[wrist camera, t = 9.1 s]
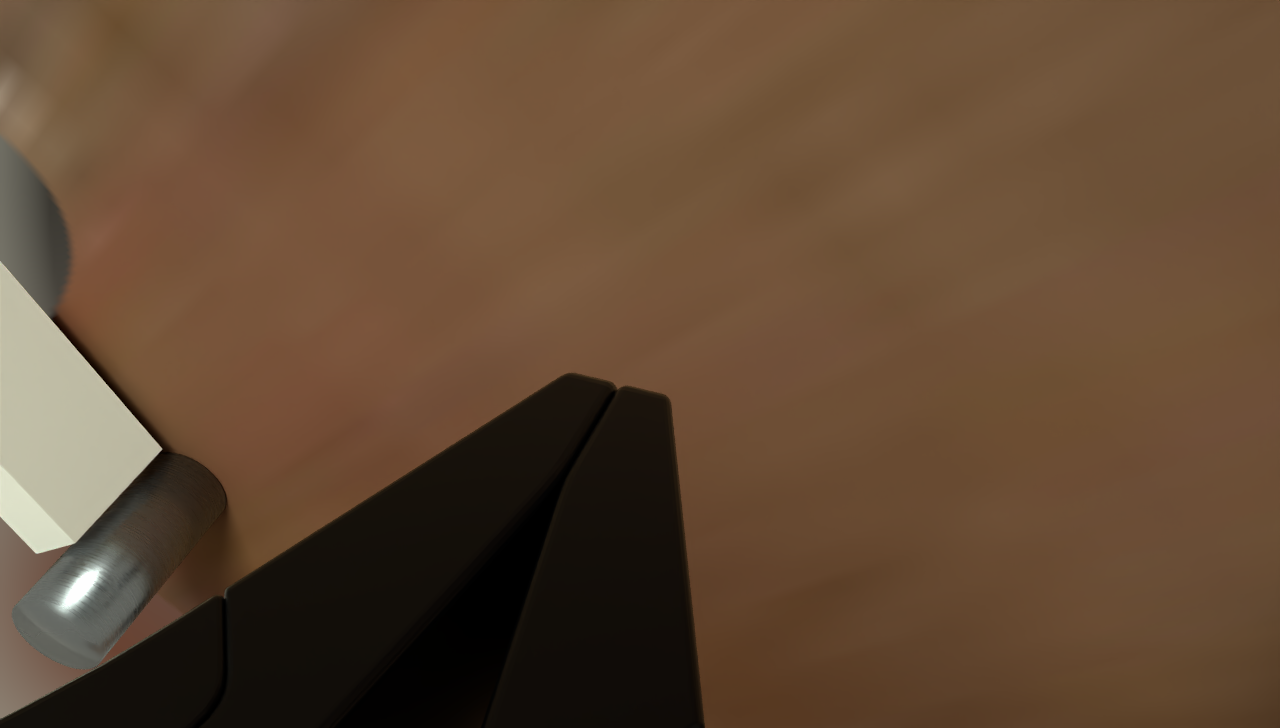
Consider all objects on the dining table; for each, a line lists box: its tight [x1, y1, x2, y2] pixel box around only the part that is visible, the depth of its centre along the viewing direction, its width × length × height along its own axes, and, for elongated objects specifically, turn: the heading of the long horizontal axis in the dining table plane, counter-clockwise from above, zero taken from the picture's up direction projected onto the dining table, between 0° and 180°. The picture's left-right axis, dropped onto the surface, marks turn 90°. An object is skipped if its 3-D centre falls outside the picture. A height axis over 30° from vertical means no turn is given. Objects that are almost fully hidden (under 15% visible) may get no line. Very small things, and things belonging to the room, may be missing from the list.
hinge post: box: [12, 453, 226, 669], centre depth 30 cm, size 2×2×6 cm
